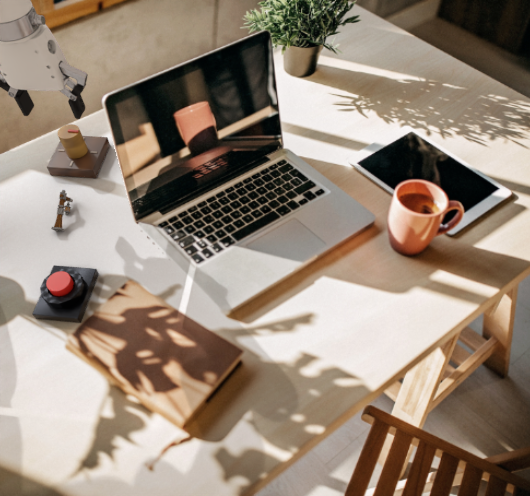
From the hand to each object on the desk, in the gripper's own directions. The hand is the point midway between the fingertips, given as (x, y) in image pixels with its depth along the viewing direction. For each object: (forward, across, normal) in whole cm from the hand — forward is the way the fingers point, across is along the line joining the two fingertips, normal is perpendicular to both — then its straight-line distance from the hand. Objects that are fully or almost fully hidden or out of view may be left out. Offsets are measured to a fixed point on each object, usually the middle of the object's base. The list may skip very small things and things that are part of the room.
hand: (55, 112), depth 89 cm
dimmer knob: (+15, +3, -6) cm, 16 cm away
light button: (+14, -6, +27) cm, 32 cm away
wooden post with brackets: (+18, +1, +10) cm, 21 cm away
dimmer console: (+18, +3, -6) cm, 19 cm away
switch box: (+17, -6, +27) cm, 33 cm away
